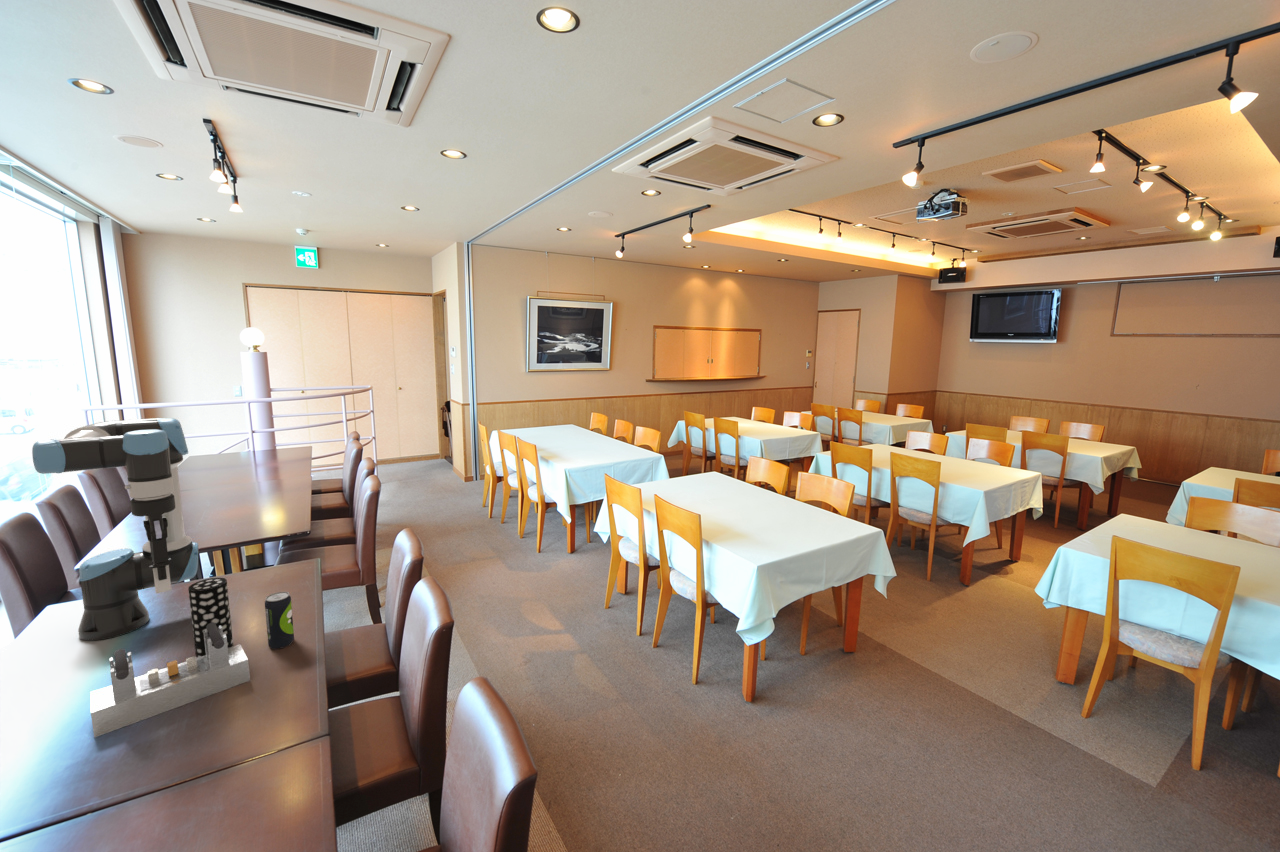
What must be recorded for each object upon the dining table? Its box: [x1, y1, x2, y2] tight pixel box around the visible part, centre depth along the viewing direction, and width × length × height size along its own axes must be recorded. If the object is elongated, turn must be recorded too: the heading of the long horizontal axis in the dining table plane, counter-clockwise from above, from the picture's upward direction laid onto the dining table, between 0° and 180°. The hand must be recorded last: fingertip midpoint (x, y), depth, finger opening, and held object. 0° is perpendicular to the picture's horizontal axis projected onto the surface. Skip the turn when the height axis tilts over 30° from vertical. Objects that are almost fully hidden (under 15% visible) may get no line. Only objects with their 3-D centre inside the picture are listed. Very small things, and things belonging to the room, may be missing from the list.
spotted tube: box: [188, 577, 234, 658], centre depth 146 cm, size 8×8×20 cm
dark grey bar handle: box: [113, 648, 129, 680], centre depth 119 cm, size 13×2×2 cm, turn 47°
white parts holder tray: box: [89, 626, 251, 738], centre depth 126 cm, size 10×28×13 cm, turn 137°
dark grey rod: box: [206, 623, 224, 649], centre depth 131 cm, size 13×2×2 cm, turn 47°
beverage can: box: [264, 591, 295, 650], centre depth 149 cm, size 6×6×15 cm
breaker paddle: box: [166, 659, 179, 676], centre depth 126 cm, size 2×2×3 cm
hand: (163, 590), depth 123 cm, fingers closed
